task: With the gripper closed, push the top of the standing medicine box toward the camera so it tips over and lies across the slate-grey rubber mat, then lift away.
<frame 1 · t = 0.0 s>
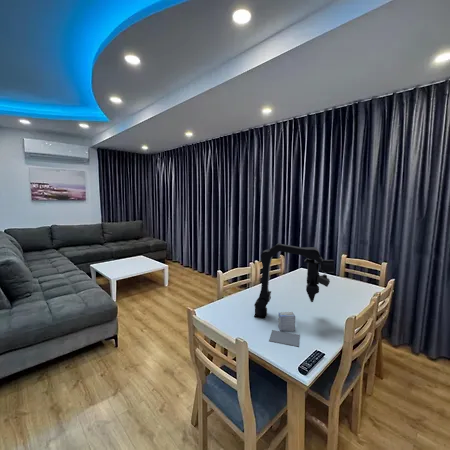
hand: (311, 298, 132), 15 cm above the table, fingers open, 9 cm apart
mat: (284, 338, 120), on the table
medicine box: (286, 329, 129), on the table
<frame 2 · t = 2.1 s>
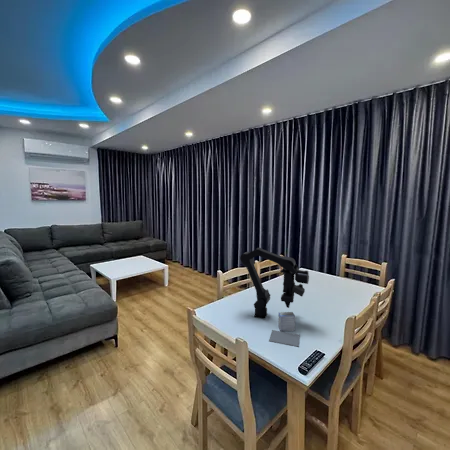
hand: (287, 307, 135), 8 cm above the table, fingers closed
nothing on the table moved.
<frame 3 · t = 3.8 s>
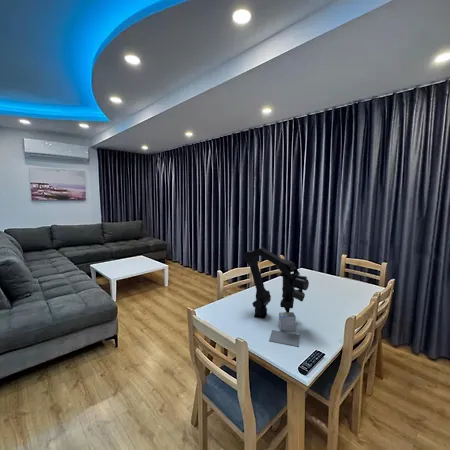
hand: (287, 313, 130), 8 cm above the table, fingers closed
medicine box: (286, 329, 129), on the table, touching gripper
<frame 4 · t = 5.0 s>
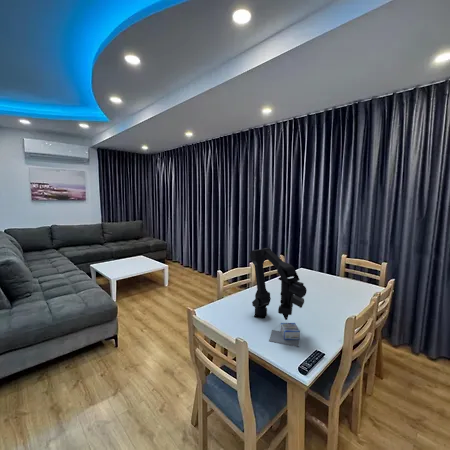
hand: (286, 319, 124), 8 cm above the table, fingers closed
medicine box: (287, 326, 127), point 3 cm above the table, touching mat
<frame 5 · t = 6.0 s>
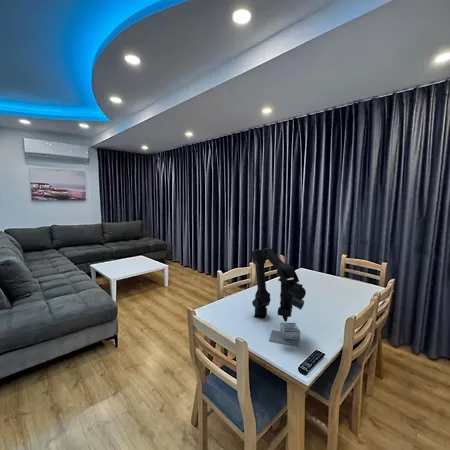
hand: (285, 321, 122), 8 cm above the table, fingers closed
nothing on the table moved.
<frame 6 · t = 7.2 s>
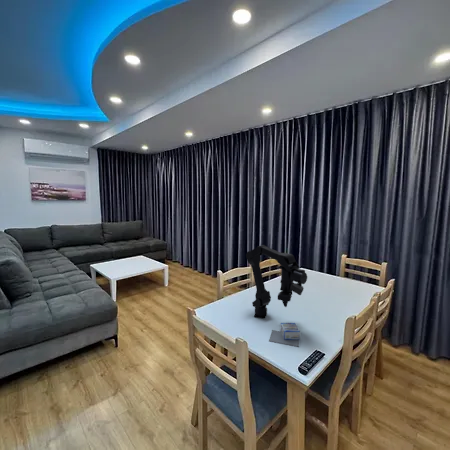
hand: (285, 306, 128), 12 cm above the table, fingers closed
nothing on the table moved.
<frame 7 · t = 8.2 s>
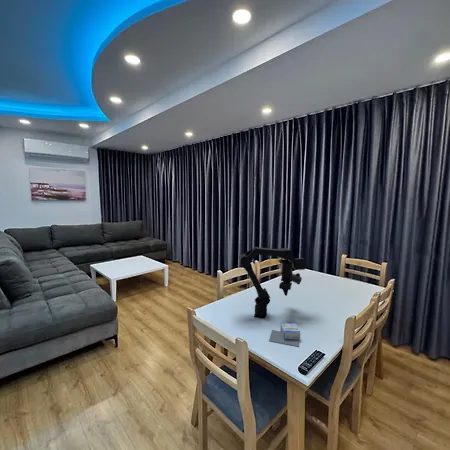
hand: (286, 295, 143), 12 cm above the table, fingers closed
nothing on the table moved.
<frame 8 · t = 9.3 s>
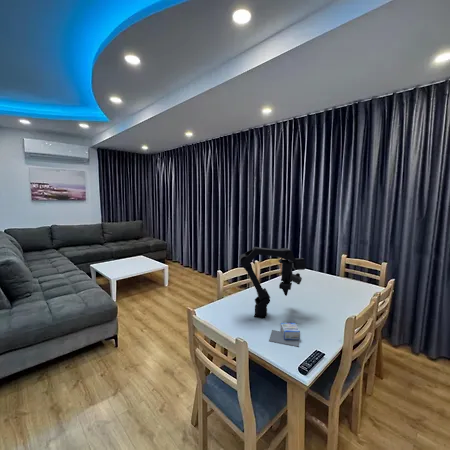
hand: (286, 295, 143), 12 cm above the table, fingers closed
nothing on the table moved.
at the end: medicine box tilted 89°; medicine box touching mat; medicine box inside the target area on the mat (4.5 cm from its centre), point 2.5 cm above the mat's base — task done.
